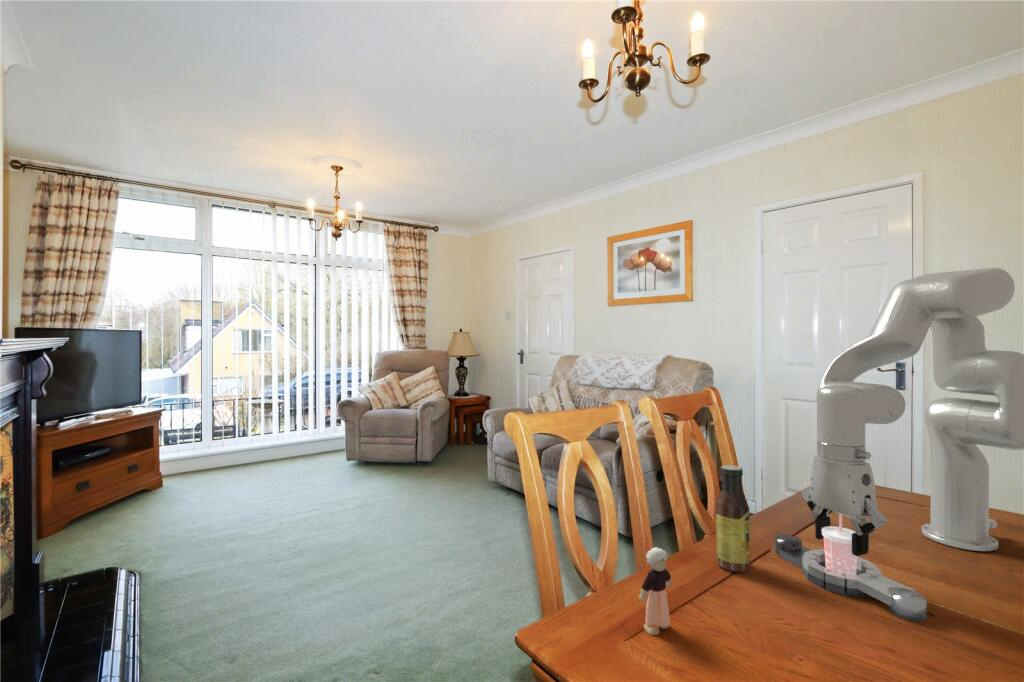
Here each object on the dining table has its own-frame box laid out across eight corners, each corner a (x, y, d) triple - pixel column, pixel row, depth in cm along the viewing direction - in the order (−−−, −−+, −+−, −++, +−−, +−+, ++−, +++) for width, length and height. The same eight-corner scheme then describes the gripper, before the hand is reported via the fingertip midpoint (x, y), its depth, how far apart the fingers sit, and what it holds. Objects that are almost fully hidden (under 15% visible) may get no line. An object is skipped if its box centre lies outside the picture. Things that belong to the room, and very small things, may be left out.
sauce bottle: (754, 575, 93) (754, 473, 93) (720, 572, 94) (719, 471, 94) (745, 559, 99) (744, 464, 99) (713, 557, 101) (712, 462, 100)
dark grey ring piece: (799, 544, 106) (799, 530, 106) (896, 589, 87) (896, 573, 87) (756, 552, 102) (756, 538, 102) (847, 602, 83) (847, 585, 83)
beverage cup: (868, 584, 89) (868, 509, 89) (845, 590, 87) (845, 514, 87) (836, 569, 95) (836, 498, 95) (814, 574, 93) (813, 503, 93)
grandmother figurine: (658, 642, 73) (657, 560, 73) (635, 632, 76) (635, 552, 76) (679, 620, 79) (679, 543, 79) (657, 611, 81) (657, 536, 81)
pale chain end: (833, 560, 98) (833, 545, 98) (948, 614, 79) (948, 596, 79) (788, 569, 95) (788, 554, 95) (897, 629, 76) (897, 610, 76)
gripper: (904, 461, 83) (904, 563, 84) (813, 440, 100) (814, 525, 100) (873, 465, 81) (873, 570, 81) (785, 443, 98) (786, 530, 98)
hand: (840, 545), depth 91 cm, fingers open, 6 cm apart
